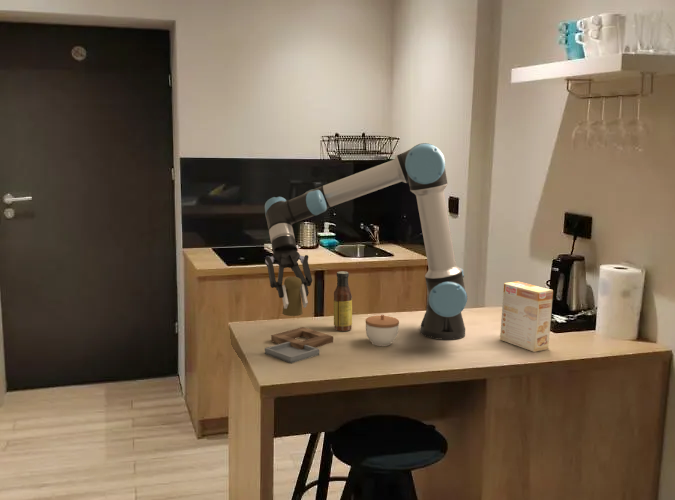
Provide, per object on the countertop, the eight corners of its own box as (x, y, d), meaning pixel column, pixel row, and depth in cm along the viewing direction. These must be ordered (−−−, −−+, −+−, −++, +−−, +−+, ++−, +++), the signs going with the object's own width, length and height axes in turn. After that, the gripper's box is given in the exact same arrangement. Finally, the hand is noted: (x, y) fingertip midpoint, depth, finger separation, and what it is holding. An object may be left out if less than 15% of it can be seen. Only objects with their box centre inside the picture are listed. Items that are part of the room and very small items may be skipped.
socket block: (333, 342, 227) (333, 336, 227) (301, 351, 217) (301, 345, 216) (302, 332, 236) (302, 327, 236) (271, 341, 226) (271, 335, 226)
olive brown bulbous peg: (299, 316, 208) (300, 280, 206) (279, 315, 209) (280, 278, 208) (304, 311, 214) (305, 276, 212) (285, 310, 215) (286, 274, 213)
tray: (319, 354, 214) (319, 349, 214) (291, 363, 206) (291, 357, 205) (292, 345, 222) (292, 340, 222) (264, 353, 214) (264, 348, 213)
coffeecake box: (549, 349, 226) (554, 289, 223) (533, 352, 222) (538, 292, 219) (514, 337, 239) (518, 280, 235) (499, 339, 235) (503, 282, 231)
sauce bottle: (355, 329, 242) (357, 272, 239) (345, 333, 237) (347, 275, 234) (339, 325, 246) (340, 269, 242) (329, 329, 241) (330, 272, 237)
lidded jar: (357, 342, 227) (358, 314, 225) (379, 336, 235) (380, 308, 233) (383, 350, 220) (384, 321, 218) (404, 343, 228) (406, 315, 226)
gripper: (308, 247, 226) (322, 310, 214) (252, 249, 220) (263, 313, 208) (313, 233, 220) (328, 297, 208) (256, 234, 214) (268, 300, 202)
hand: (296, 305), depth 208 cm, fingers closed on olive brown bulbous peg, 5 cm apart
